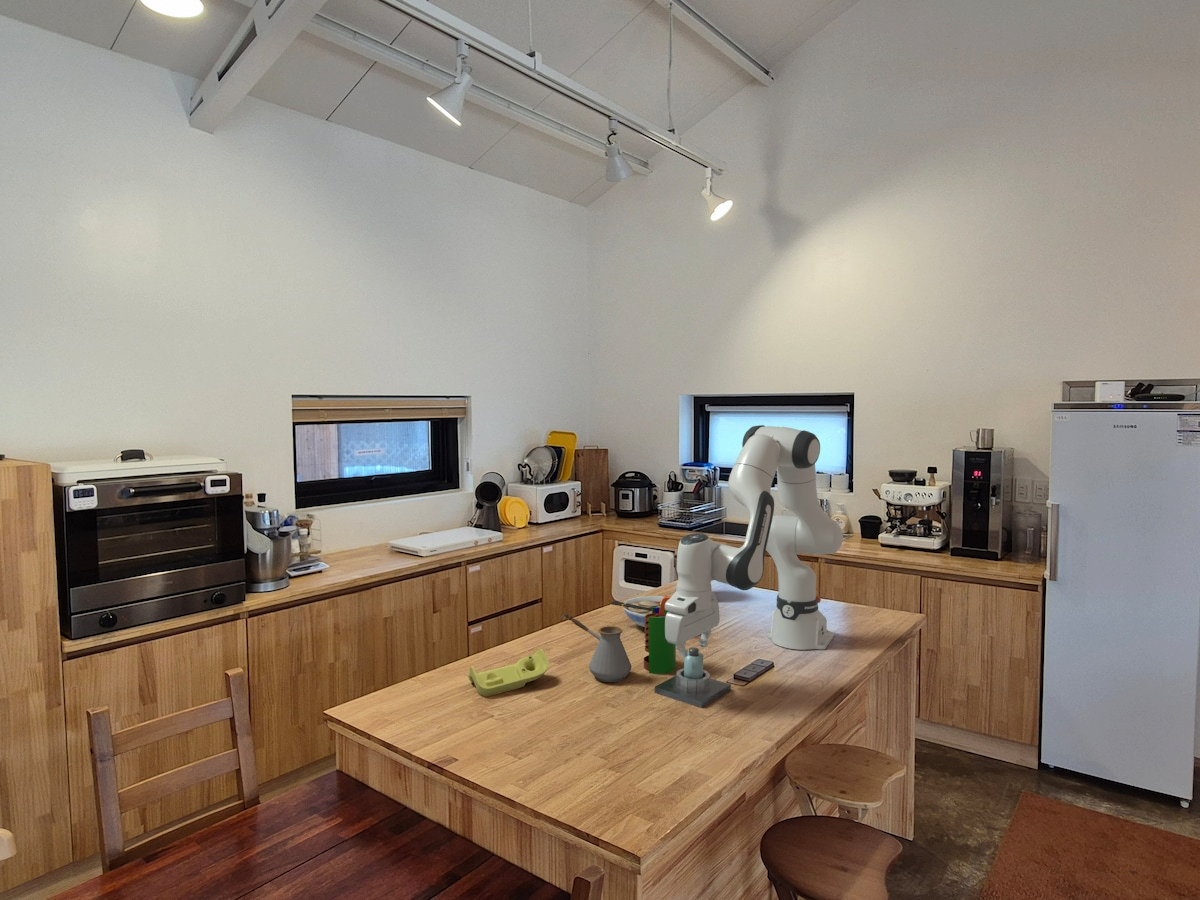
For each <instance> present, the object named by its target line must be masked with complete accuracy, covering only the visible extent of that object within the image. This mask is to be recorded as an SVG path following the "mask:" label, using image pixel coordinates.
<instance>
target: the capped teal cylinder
mask: <svg viewBox="0 0 1200 900" xmlns="http://www.w3.org/2000/svg"><path fill="white" fill-rule="evenodd" d="M699 651H700V650H699V648H698V647H689V648H688V653H687V654H688V656H687V657H685V658H683V664H684V665H683V669H684V677H685V678H688V679H701V678H703V670H704V654H703V653H701V652H699Z"/></svg>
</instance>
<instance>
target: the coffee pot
mask: <svg viewBox="0 0 1200 900" xmlns="http://www.w3.org/2000/svg"><path fill="white" fill-rule="evenodd" d="M565 618H567V619H568V621H571V622H572V623H573V624H574V625H575V626H577V627H578V628H580V629H582V630H584V631H585V632H588V633H589V634H590V635H591V636H593V637H594V638H595V639H596V640H598V643H597V646H596V648H595V651H594V653H593V654H592V658H591V660H590V661H589V665H588V669H589V671H590V673H591V674H592V675H593V676H594V677H595V678H596V679H597V680H598V681H601V682H606V683H616V682H620V681H622V680H624V679H625V678H626V677H627V676H628V675H629V674H630V672H631V670H632V664H631V661H630V658H629V656H628V654H627V651H626V650H625V647H624V644H623V642H622V640H621V634H622V633H623V629H622V628H621V627H619V626H613V625H611V626H608V625H607V626H602V627H600V628H598V633H599V634H600V635H599V634H597V633H595V632H594V631H592V630H591V629H589V628H588V627H587V626H586V625H584V624H583V623H582V622H580V621H579V620H577V619H575V618H573V616H570V615H569V614H567V613H565V612H564V613H563V615H561V617H560V620H561V621H563V620H565Z"/></svg>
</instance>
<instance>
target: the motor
mask: <svg viewBox="0 0 1200 900" xmlns="http://www.w3.org/2000/svg"><path fill="white" fill-rule="evenodd" d="M671 597H672V596H669V595H665V597H663V599H662V601H661V605H660V607H652V613H651V614H647V615H645V627H644V633H645V634H644V639H645V640H644V644H645V645H644V651H645V652H647V653H648V654H647V655H646V656H645V657H643V669H645V671H647V672H648V674H650V675H664V674H670V673H672V672H674V671H675V670H676V669H677V656H676V655H677V652H676V651H677V646H676V644H672V643H669V642H667V640H666V638H665V618H666V614H667V612H668V611H666V610H665V603H666V602H667V601H668V600H669V599H670V598H671Z"/></svg>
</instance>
